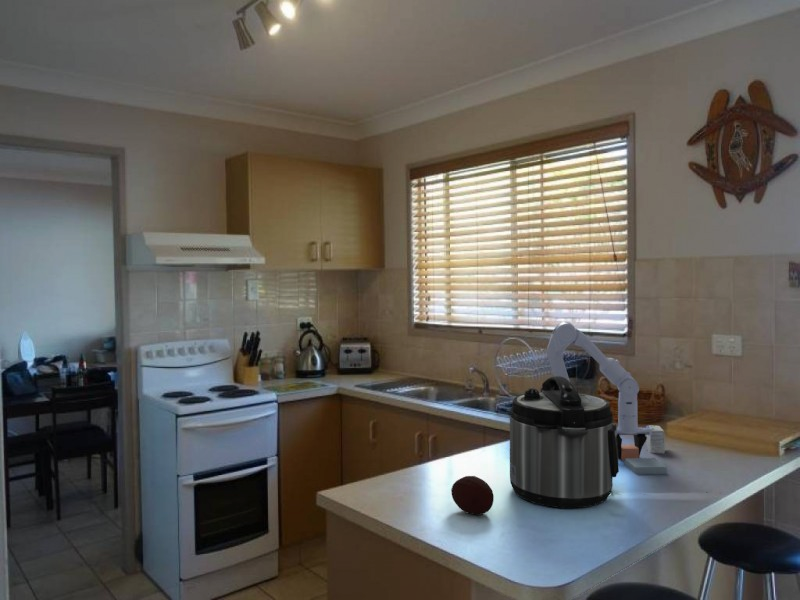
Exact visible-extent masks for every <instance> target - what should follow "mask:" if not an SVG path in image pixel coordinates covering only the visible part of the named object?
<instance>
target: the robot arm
mask: <svg viewBox="0 0 800 600" xmlns="http://www.w3.org/2000/svg"><path fill="white" fill-rule="evenodd" d="M571 344H573V345H574V346H577V347H579V348H580V347H581V348H582V349H583V350H584V351H586V353H588V354H589V356H591V358H593V359H594V360H595V361H596V362H597V363H598V364H599V371H600V372H601V374H603V376H604V377H606V379H607V380H608V381H609V382H610V383H612V385H613V386H616V388H617V390H618V400H617V419H618V420H617V421H618V422H617V425H618V426H617V447H618V460H619V459H621V445H623V438H621V436H633V441H634V444H633V445H635V446H636V447H637V448H639V457H640V455H641V452H642V449H643V446H644V445H645V444H646V439H647V437H646V435H652V429H651V428H646V427H642V426H641V427H638V425H639V424H638V418H639V417H638V411H639V410H638V393H639V391H640V387H639V384H638V383H639V382H637V381H636V379H634V378H633V376H632V374H631V372H629V371H627V370H626V369H625V368H624V367H623V366H622V365H621V362H620V361H619V360H618V359H615V358H613V357H607V356H606V355H605V354H604V353H603V352H602V351H601V350H600V348H598V347H597V345H596V344H595V343H594V342H593V341H592V340H591V339H590V338H589V337H588V336H587V335H586V334H585V333H583V332H582V331H581V330H580V329H578V328H577V327H575V326H574V325H573V324H572V323H571V322H568V321H562V322H560V323H558V324H557V325H556V326H555V328H554V329H553V330H552V332H551V336H550V339H549V341H548V344H547V347H546V355H547V358H548V359H547V360H548V362H549V364H550V365H549V366H550V368H551V369H550V370H551V372H552V375H553V376H552V377H555V376H560V377H564V378H566V379H567V380H568V381H569V382H570V383H571V380H570V378H569V375H568V372H567V366H566V364H565V362H564V361H565V360H564V357H563V353H564V352H565V351H566V349H567V347H568V346H570V345H571ZM621 460H622V459H621Z"/></svg>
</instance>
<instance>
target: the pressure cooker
mask: <svg viewBox="0 0 800 600" xmlns="http://www.w3.org/2000/svg"><path fill="white" fill-rule="evenodd" d="M509 411H510V413H509V479H510V485H511V487H512V490H513V491H514V493H515V494H516V495H517V496H518V495H519V497H520V498H522V499H523V498H524V500H525V499H526V501H528V502H530V501H531V503H533V502H534V503H533V504H537V505H541V506H545V505H546V507H550V506H553V508H558V507H561V509H562V508H563V509H575V508H577V509H579V508H587V507H592V506H595V505H599V504H601V503H604V502H605V501H606V500H607V499H608V498H609V496H610V495H611V493H612V489H613V478H616V477H617V476H618V473H619V472H620V470H619V469H620V468H619V458H618V447H617V427H618V426H617V423H616V422H614V413H613V411H612V410H611V403H610V401H608V400H606V399H605V398H602V397H599V396H594V395H589V394H584V393H578V391H577V390H576V389H575V387H574V385H573V384H572V383H571V381H570V382H569V381H568V380H567V379H566V378H564V377H560V376H555V377H554V376H552V377H549V378H547V379H546V380H545V381H544V382H542V387H540V391H539V390H537V388H528V389H526V390H525V391H524V394H521V395H517V396H516V397H514V398H513V399H512V406H511V407H510V410H509Z"/></svg>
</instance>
